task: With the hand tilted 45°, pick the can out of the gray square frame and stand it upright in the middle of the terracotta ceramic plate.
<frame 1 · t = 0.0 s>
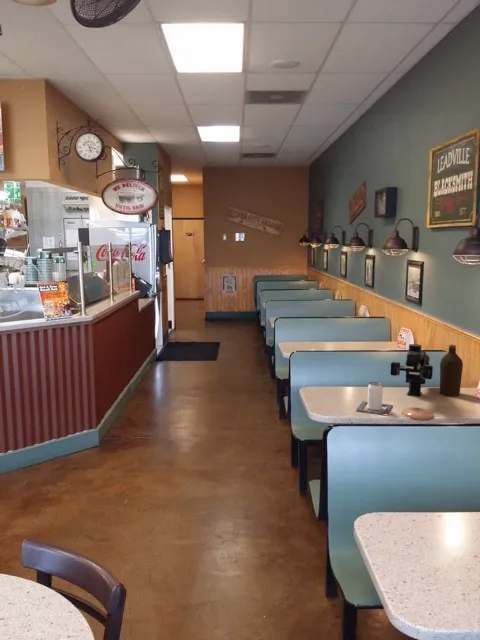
hand: (408, 374, 246), 17 cm above the table, tool horizontal, fingers open, 9 cm apart
plate: (417, 414, 242), on the table
gray square frame: (374, 408, 250), on the table
olive oil: (449, 394, 272), on the table
can: (374, 409, 250), resting in gray square frame
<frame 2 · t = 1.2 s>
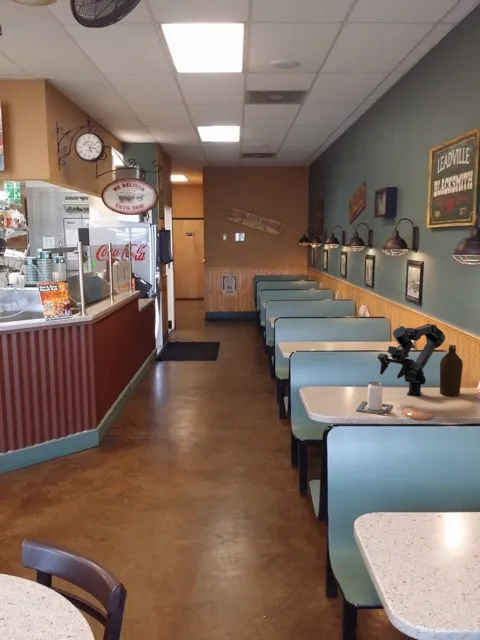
hand: (389, 376, 254), 14 cm above the table, tool tilted 45°, fingers open, 9 cm apart
nothing on the table moved.
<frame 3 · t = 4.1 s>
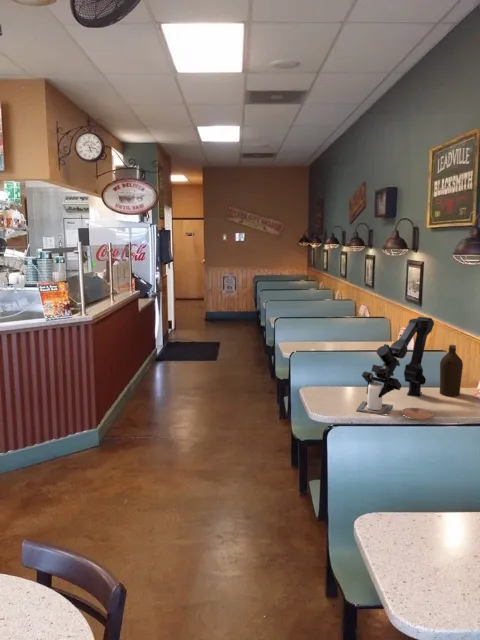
hand: (373, 395, 248), 7 cm above the table, tool tilted 45°, fingers closed on can, 6 cm apart
can: (374, 409, 250), resting in gray square frame, touching gripper
everything else where it was.
when the fingers open (8 cm above the table, at t = 8.8 s): can stays where it is, resting on plate.
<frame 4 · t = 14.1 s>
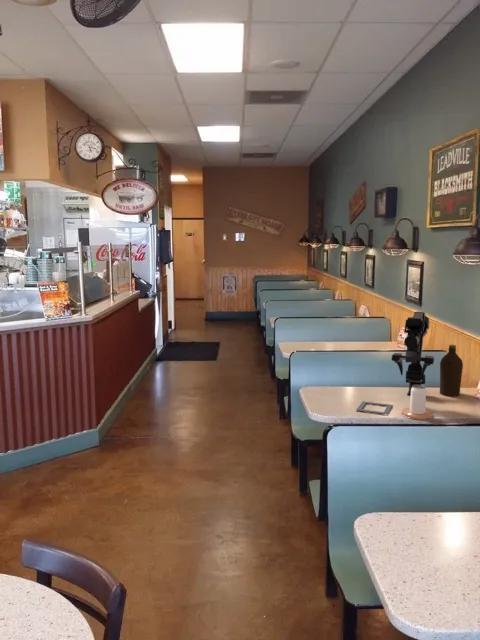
hand: (411, 376, 257), 13 cm above the table, tool pointing down, fingers open, 9 cm apart
can: (417, 412, 241), point 1 cm above the table, touching plate
everything else where it was.
at the end: can inside the target area on the plate (0.1 cm from its centre), point 1.0 cm above the plate's base; can tilted 0°; the gripper is holding nothing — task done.
